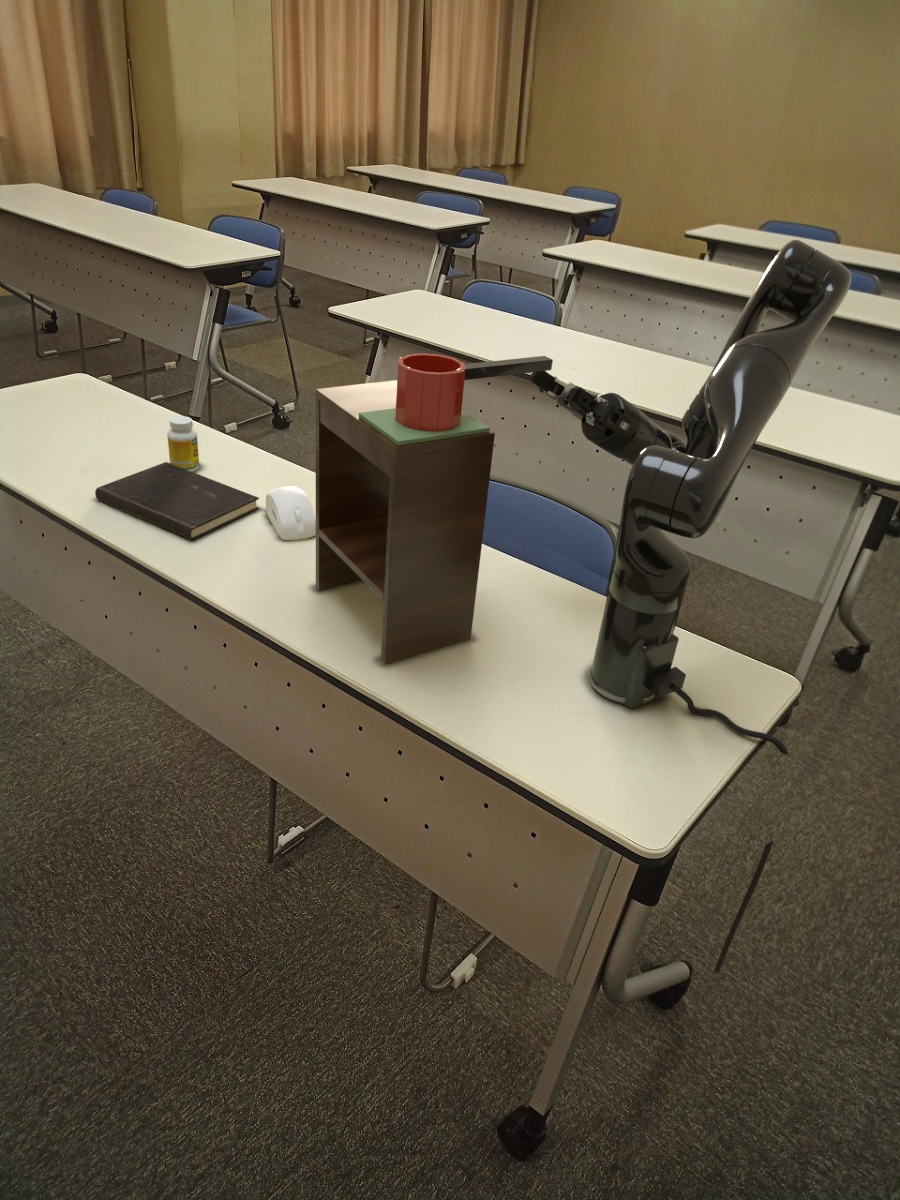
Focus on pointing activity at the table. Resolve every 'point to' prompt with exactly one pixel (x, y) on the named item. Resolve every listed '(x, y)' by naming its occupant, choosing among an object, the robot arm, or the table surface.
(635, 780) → the table surface
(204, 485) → the hardcover book
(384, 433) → the green flat slab
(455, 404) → the pot
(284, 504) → the computer mouse
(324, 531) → the shelf
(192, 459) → the supplement bottle
